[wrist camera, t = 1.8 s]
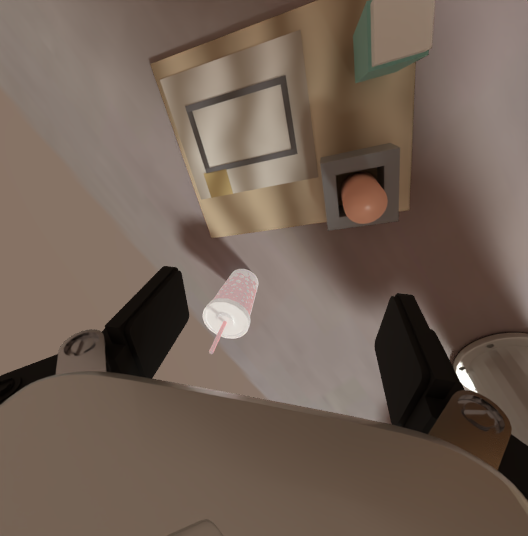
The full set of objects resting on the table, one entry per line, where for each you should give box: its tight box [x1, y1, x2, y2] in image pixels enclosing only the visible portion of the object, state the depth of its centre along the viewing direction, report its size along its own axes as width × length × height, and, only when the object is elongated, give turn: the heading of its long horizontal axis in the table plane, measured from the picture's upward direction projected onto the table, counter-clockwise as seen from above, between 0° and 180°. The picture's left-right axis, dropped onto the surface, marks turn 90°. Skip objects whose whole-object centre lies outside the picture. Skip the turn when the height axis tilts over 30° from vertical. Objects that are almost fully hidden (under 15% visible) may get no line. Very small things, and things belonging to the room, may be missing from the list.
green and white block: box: [353, 0, 435, 83], centre depth 19 cm, size 3×3×11 cm
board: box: [150, 0, 416, 238], centre depth 28 cm, size 25×20×1 cm
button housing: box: [320, 143, 400, 231], centre depth 27 cm, size 7×7×4 cm
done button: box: [341, 172, 388, 224], centre depth 25 cm, size 4×4×5 cm
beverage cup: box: [203, 269, 258, 354], centre depth 34 cm, size 6×6×14 cm
